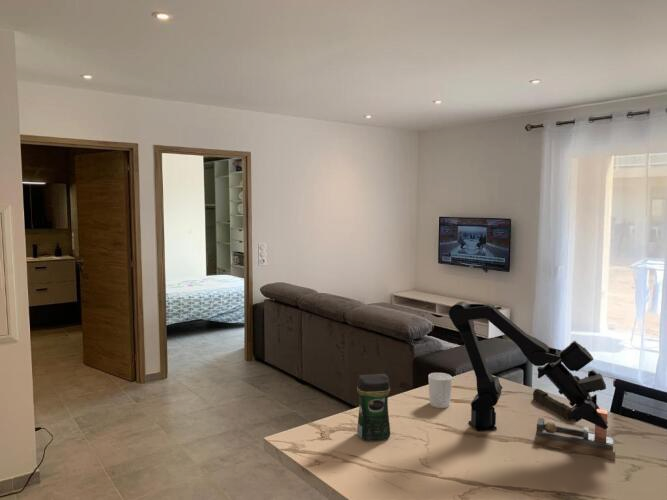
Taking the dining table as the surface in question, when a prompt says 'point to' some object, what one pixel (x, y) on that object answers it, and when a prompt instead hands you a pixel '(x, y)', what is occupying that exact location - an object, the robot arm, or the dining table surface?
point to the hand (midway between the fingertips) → (606, 426)
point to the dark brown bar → (552, 403)
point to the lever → (599, 431)
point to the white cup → (440, 389)
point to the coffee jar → (373, 407)
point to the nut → (550, 427)
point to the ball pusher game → (572, 441)
